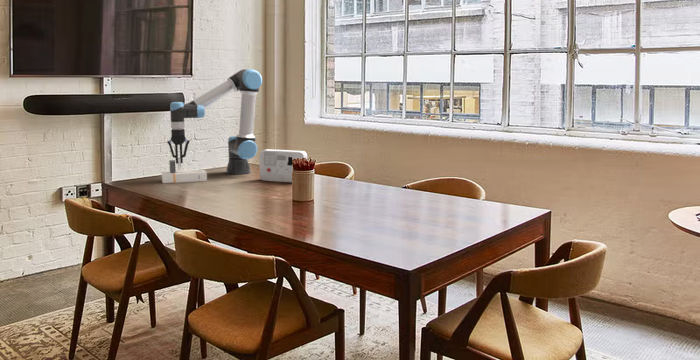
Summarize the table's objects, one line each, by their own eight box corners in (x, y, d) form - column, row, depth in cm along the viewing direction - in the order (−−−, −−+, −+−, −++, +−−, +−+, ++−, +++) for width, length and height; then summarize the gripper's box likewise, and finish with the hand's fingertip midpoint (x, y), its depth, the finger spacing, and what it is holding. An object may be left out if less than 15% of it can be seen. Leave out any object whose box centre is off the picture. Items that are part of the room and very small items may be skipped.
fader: (175, 178, 392) (174, 160, 390) (176, 180, 387) (175, 161, 385) (170, 178, 391) (169, 160, 389) (170, 180, 386) (169, 161, 384)
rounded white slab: (257, 181, 390) (257, 150, 387) (263, 179, 397) (263, 149, 394) (302, 183, 380) (302, 152, 377) (307, 181, 387) (307, 151, 384)
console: (204, 178, 400) (204, 169, 399) (207, 180, 390) (206, 172, 389) (161, 180, 392) (161, 171, 391) (162, 183, 382) (162, 174, 381)
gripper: (188, 128, 391) (190, 167, 395) (165, 128, 387) (167, 168, 391) (189, 129, 384) (191, 169, 388) (166, 129, 380) (168, 170, 384)
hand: (179, 169), depth 389 cm, fingers closed
